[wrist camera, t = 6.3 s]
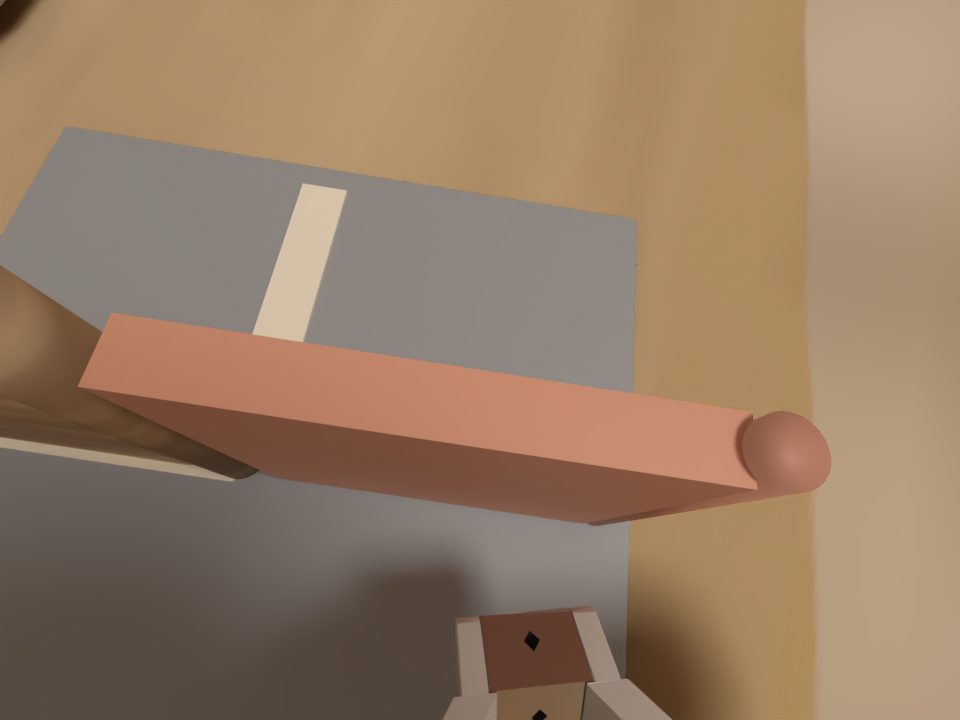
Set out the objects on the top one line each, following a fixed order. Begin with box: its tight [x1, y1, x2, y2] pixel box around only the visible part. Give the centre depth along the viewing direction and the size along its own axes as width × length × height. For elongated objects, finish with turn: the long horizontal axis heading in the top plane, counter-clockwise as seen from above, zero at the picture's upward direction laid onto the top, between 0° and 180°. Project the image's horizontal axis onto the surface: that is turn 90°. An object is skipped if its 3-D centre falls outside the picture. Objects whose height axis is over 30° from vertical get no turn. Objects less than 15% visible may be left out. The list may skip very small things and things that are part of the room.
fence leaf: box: [78, 313, 831, 526], centre depth 12 cm, size 1×11×10 cm, turn 82°
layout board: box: [0, 126, 637, 720], centre depth 17 cm, size 22×24×1 cm
